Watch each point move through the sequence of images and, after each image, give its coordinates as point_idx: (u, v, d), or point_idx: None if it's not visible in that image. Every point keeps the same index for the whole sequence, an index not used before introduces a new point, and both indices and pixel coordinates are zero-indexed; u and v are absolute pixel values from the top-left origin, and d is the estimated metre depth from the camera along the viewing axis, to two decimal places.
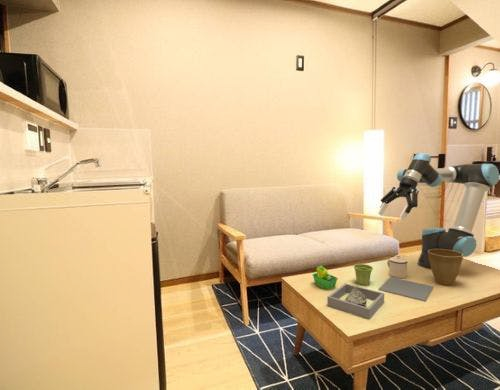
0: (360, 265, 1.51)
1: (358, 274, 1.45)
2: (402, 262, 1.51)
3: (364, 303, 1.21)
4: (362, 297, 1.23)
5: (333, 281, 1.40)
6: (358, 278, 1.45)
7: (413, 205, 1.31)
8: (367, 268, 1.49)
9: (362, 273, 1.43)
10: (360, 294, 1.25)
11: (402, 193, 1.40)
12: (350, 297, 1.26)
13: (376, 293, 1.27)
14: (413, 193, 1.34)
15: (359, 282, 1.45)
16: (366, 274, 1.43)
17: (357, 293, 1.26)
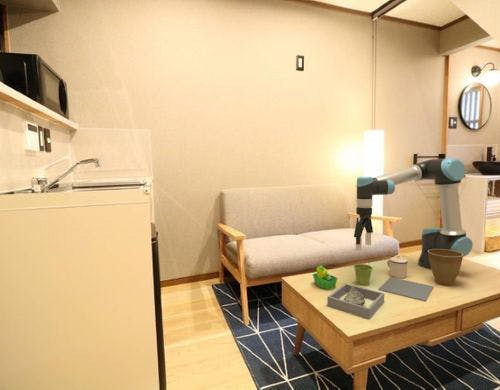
0: (360, 265, 1.51)
1: (358, 274, 1.45)
2: (402, 262, 1.51)
3: (362, 303, 1.21)
4: (360, 297, 1.23)
5: (333, 281, 1.40)
6: (358, 278, 1.45)
7: (355, 236, 1.38)
8: (367, 268, 1.49)
9: (362, 273, 1.43)
10: (358, 294, 1.25)
11: None
12: (348, 297, 1.26)
13: (376, 293, 1.27)
14: None
15: (359, 282, 1.45)
16: (366, 274, 1.43)
17: (355, 293, 1.26)
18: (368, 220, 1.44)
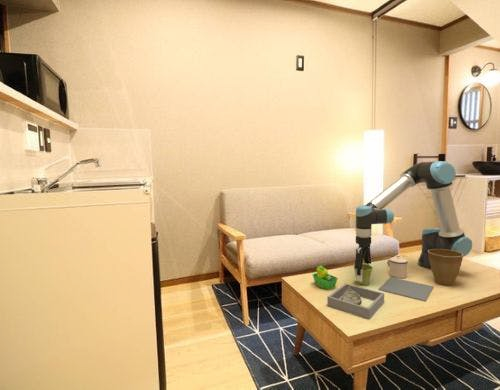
0: None
1: None
2: (402, 262, 1.51)
3: (359, 303, 1.22)
4: (357, 297, 1.24)
5: (333, 281, 1.40)
6: None
7: (356, 268, 1.41)
8: (367, 268, 1.49)
9: (362, 273, 1.43)
10: (355, 294, 1.25)
11: None
12: (345, 297, 1.26)
13: (376, 293, 1.27)
14: None
15: (359, 282, 1.45)
16: (366, 274, 1.43)
17: (351, 293, 1.26)
18: (367, 249, 1.45)
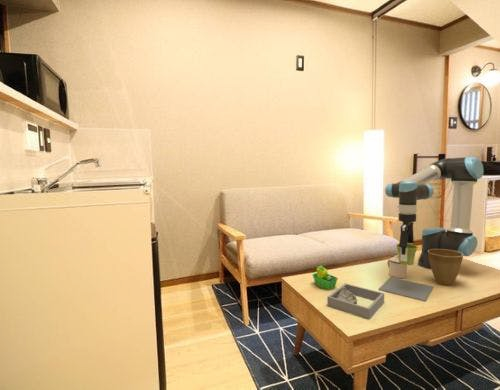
0: None
1: None
2: None
3: (355, 303, 1.22)
4: (352, 297, 1.24)
5: (333, 281, 1.40)
6: None
7: (401, 247, 1.32)
8: (410, 248, 1.40)
9: (407, 252, 1.34)
10: (350, 294, 1.25)
11: None
12: (340, 297, 1.26)
13: (376, 293, 1.27)
14: None
15: (403, 262, 1.36)
16: (411, 253, 1.34)
17: (347, 293, 1.26)
18: (411, 227, 1.36)
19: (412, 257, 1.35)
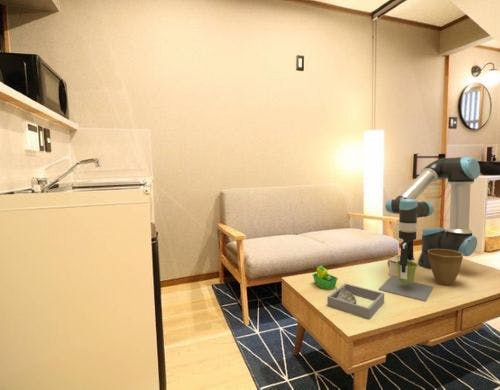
0: (402, 262, 1.42)
1: None
2: None
3: (354, 303, 1.21)
4: (351, 297, 1.23)
5: (333, 281, 1.40)
6: None
7: (401, 265, 1.33)
8: (410, 265, 1.40)
9: (407, 270, 1.35)
10: (349, 294, 1.25)
11: None
12: (339, 298, 1.26)
13: (376, 293, 1.27)
14: None
15: (403, 280, 1.37)
16: (411, 271, 1.35)
17: (346, 293, 1.26)
18: (412, 244, 1.37)
19: (412, 275, 1.35)
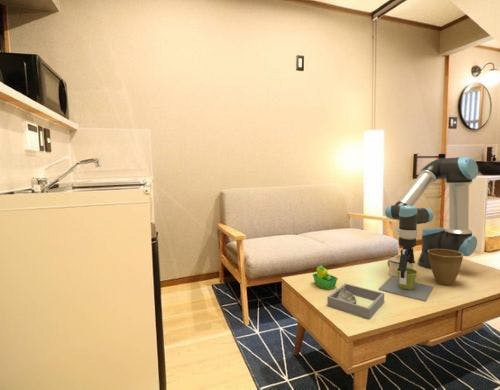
0: None
1: None
2: None
3: (354, 303, 1.21)
4: (352, 297, 1.23)
5: (333, 281, 1.40)
6: None
7: (400, 270, 1.31)
8: (410, 272, 1.41)
9: (407, 277, 1.35)
10: (349, 294, 1.25)
11: None
12: (339, 298, 1.26)
13: (376, 293, 1.27)
14: None
15: (403, 287, 1.37)
16: (411, 278, 1.35)
17: (346, 293, 1.26)
18: (411, 251, 1.37)
19: (412, 282, 1.36)
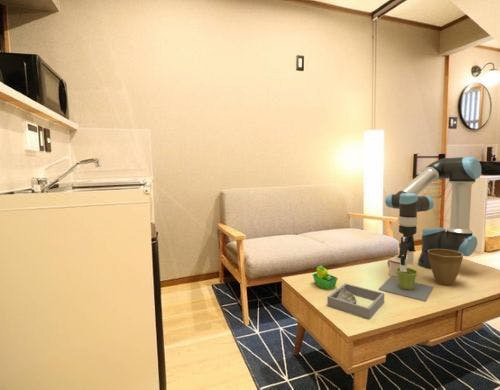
0: None
1: (402, 278, 1.37)
2: None
3: (354, 303, 1.21)
4: (352, 297, 1.23)
5: (333, 281, 1.40)
6: (402, 282, 1.37)
7: (400, 257, 1.31)
8: (410, 272, 1.41)
9: (407, 277, 1.35)
10: (349, 294, 1.25)
11: None
12: (339, 298, 1.26)
13: (376, 293, 1.27)
14: None
15: (403, 287, 1.37)
16: (411, 278, 1.35)
17: (346, 293, 1.26)
18: (412, 239, 1.36)
19: (412, 282, 1.36)
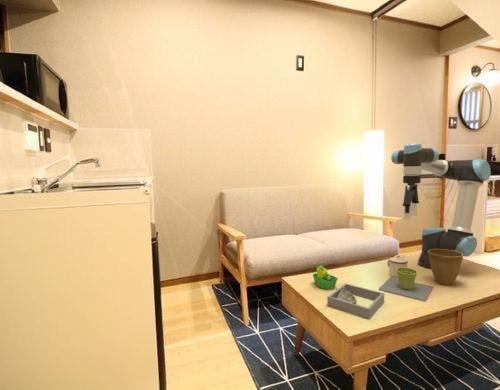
0: (402, 269, 1.43)
1: (402, 278, 1.37)
2: (402, 262, 1.51)
3: (354, 303, 1.21)
4: (351, 297, 1.23)
5: (333, 281, 1.40)
6: (402, 282, 1.37)
7: (405, 205, 1.33)
8: (410, 272, 1.41)
9: (407, 277, 1.35)
10: (349, 294, 1.25)
11: None
12: (339, 298, 1.26)
13: (376, 293, 1.27)
14: None
15: (403, 287, 1.37)
16: (411, 278, 1.35)
17: (346, 293, 1.26)
18: (416, 189, 1.39)
19: (412, 282, 1.36)
